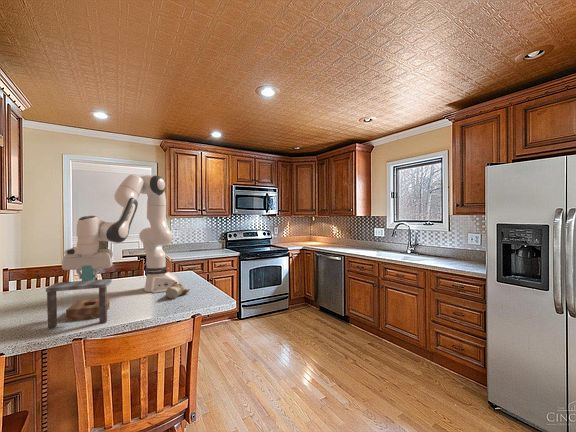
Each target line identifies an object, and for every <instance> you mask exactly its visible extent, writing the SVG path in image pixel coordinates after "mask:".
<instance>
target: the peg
mask: <svg viewBox="0 0 576 432" xmlns="http://www.w3.org/2000/svg"><path fill="white" fill-rule="evenodd" d="M81 274H82V279H81V281H89V280H95V278H92V277H93V276H92V275H93V274H95V269H92V265H90V266H82V269H81Z"/></svg>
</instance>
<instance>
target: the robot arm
mask: <svg viewBox="0 0 576 432" xmlns="http://www.w3.org/2000/svg"><path fill="white" fill-rule="evenodd" d="M166 185H167V183H166V181H165V179H164V177H162V176H160V175H157V174H156V175H150V174H149V175H148V174H147V175H140V176H139V175H137V174H129V175H128V176H126V177H125V178H124V180H122V181H121V183H120V184H119V185H118V187H117V188H116V191H115V193H114V200H115V202H116V203H117V204H118V205H119V206H120V207H123V209H122V211H121V214H120V216H119V218H118V220H116V221H114V222H109V221H108V222H107V221H103V220H101V219H100V218H98V217H97V216H96V215H85V216H81V217H80V218H78V220H77V223H76V237H77V242H76V246H73V247H70V248H68V249H65V250H64V251H63V252H64V255H63V257H62V262H61V268H62V270H63V271H71V270H72V271H74V270H75V271H76V274H77V275H78V279H79V280H82V266H90V265H92V269H94V274H93V275H92V276H93V277H92V278H94V279H96V278H97V277H98V273H99V272H100V269H111V267H113V255H114V254H113V250H111V249H109V248H105V249H103V248H99V247H100V242H111V243H112V242H113V243H122V242H124V241H126V239H127V238H128V236H129V234H130V229H131V225H132V222H133V221H134V220H133V219H134V217H135V214H136V212H137V209H138V207H139V205H138V204H139V203H138V198H139V197H140V195H141V194H142V195H146V196H147V200H146V201H147V202H146V219H147V220H148V222H149V225H150V227H145V228H143V229H141V231H140V232H139V240H140V241H141V242H142V245H143V248H144V251H145V258H146V263H145V265H146V267H145V278H146V279H145V285H144V289H143V292H147V293H152V294H157V293H163V292H164V293H166V290H167V289H168V288H169V287H171V286H172V284H173V283H175V282H177V283H180V282H179V279H178V277H177V276H176V275H175V274H173V273H172V272H171V271H170V267H169V266H167V265H166V263H167V262H166V256H167V255H166V253H165V251H164V249H163V248H162V246H166V245H167V246H168V245H169V244H170V243H172V241H173V237H174V235H173V232H172V231H171V230H170V228H169V225H168V221H167V197H166V192H165V191H166ZM180 284H182V283H180Z"/></svg>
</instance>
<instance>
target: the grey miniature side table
mask: <svg viewBox="0 0 576 432" xmlns="http://www.w3.org/2000/svg"><path fill="white" fill-rule="evenodd" d="M111 283H112V278H108V279H107V278H106V279H94V280H89V281H82V280H77V281H62V282H55V283H53V284H51V285H50V286H48V287H46V288H45V292H46V301H47V302H46V307H47V308H46V309H47V310H46V311H47V312H46V314H47V329H48V328H54V329H56V328H57V327H58V305H57V303H58V301H57V292H64V291H77V290H90V289H98V298H95V299H92V298H91V299H84V300H83V299H81V300H77V301H75V302H74V303H73V304H72V305H70V306H69V307H68V308H67V309H65V321H66V322H69V321H80V320H89V319H98V322H99V324H106V323H107V321H108V310H109V309H110V306H111V305H110V298H109V297H108V294H107V293H108V292H107V290H108V289H107V288H108V286H109V285H110V284H111ZM56 326H57V327H56ZM55 327H56V328H55Z"/></svg>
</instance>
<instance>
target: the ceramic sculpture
mask: <svg viewBox="0 0 576 432" xmlns="http://www.w3.org/2000/svg"><path fill="white" fill-rule="evenodd" d="M190 290H191V289H190V288H189V289H187V288H184V286H183V283H181V284H180V282H179V283H177V282H175V283H173V284H172V286H171V287H169V288H168V289H167V290H166V292H165V295H166V297H167V298H168V299H171V300H174V299H176V298H177V297H178V296H181V295H185V294H187V293H189V292H190Z"/></svg>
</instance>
